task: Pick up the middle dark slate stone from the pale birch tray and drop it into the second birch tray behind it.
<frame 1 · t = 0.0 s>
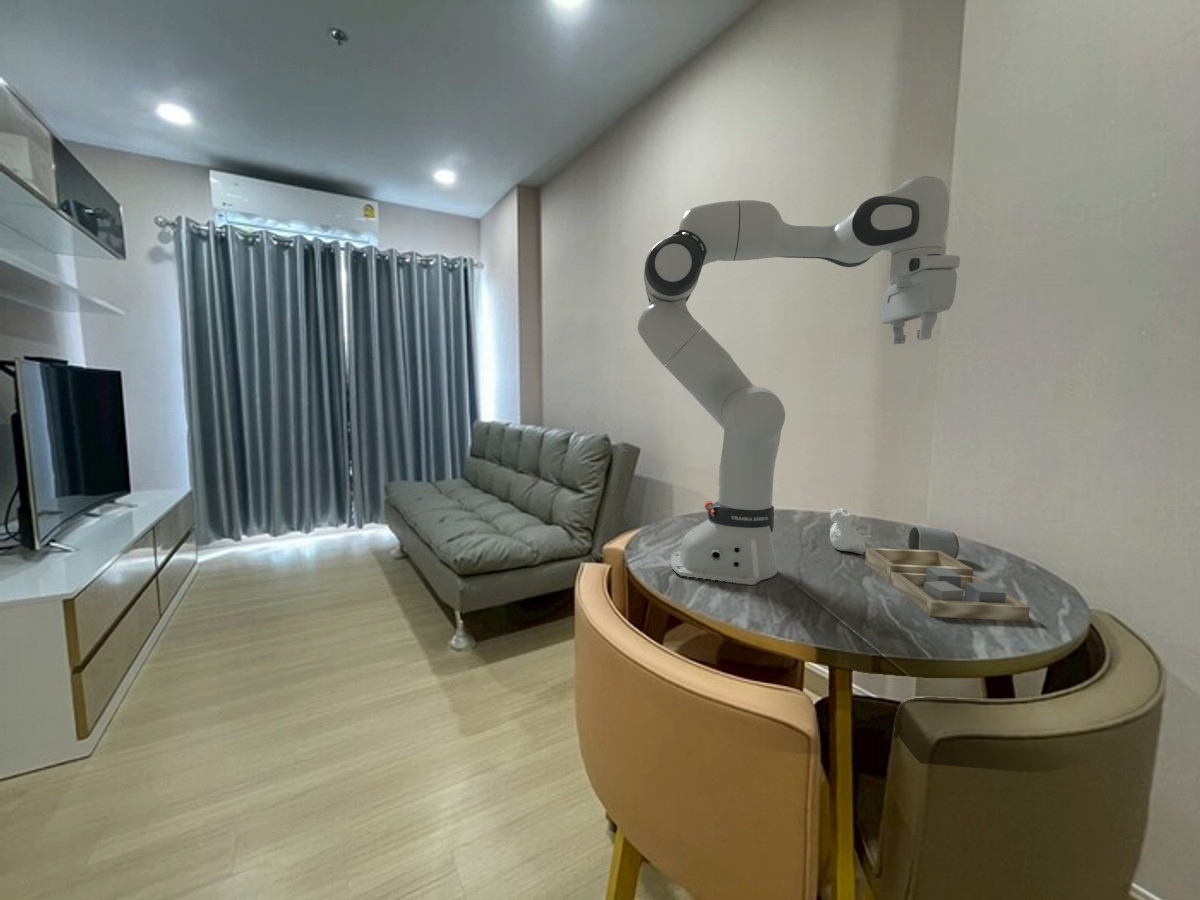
hand: (910, 341, 96), 48 cm above the table, tool pointing down, fingers open, 8 cm apart
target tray: (914, 576, 101), on the table
stone right: (983, 609, 85), point 1 cm above the table, touching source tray
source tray: (952, 603, 88), on the table
stone mid: (941, 592, 92), point 1 cm above the table, touching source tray
ceramic mug: (927, 559, 113), on the table
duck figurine: (844, 550, 118), on the table
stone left: (941, 607, 85), point 1 cm above the table, touching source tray
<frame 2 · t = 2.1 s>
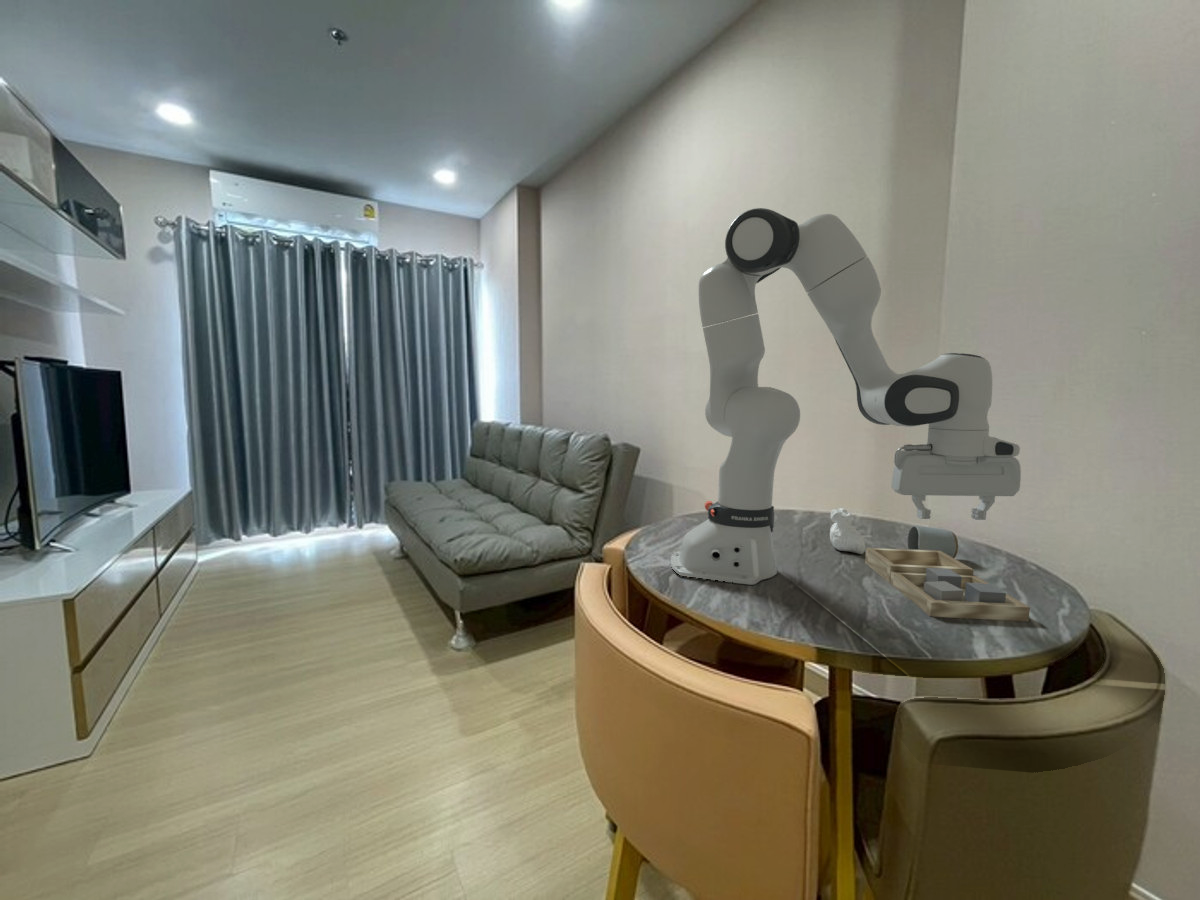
hand: (950, 518, 90), 15 cm above the table, tool pointing down, fingers open, 8 cm apart
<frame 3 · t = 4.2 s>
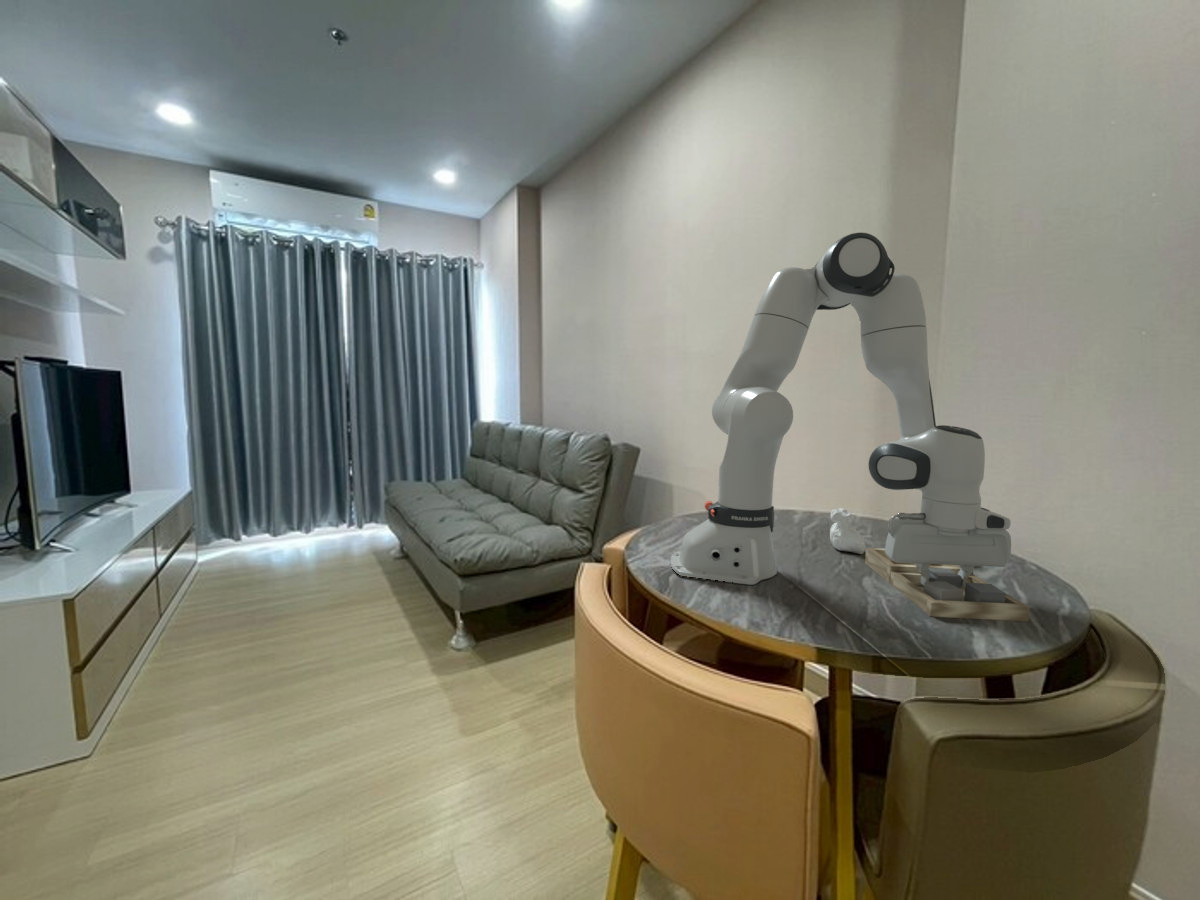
hand: (942, 585, 92), 2 cm above the table, tool pointing down, fingers closed on stone mid, 4 cm apart
stone mid: (941, 592, 92), point 1 cm above the table, touching gripper, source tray
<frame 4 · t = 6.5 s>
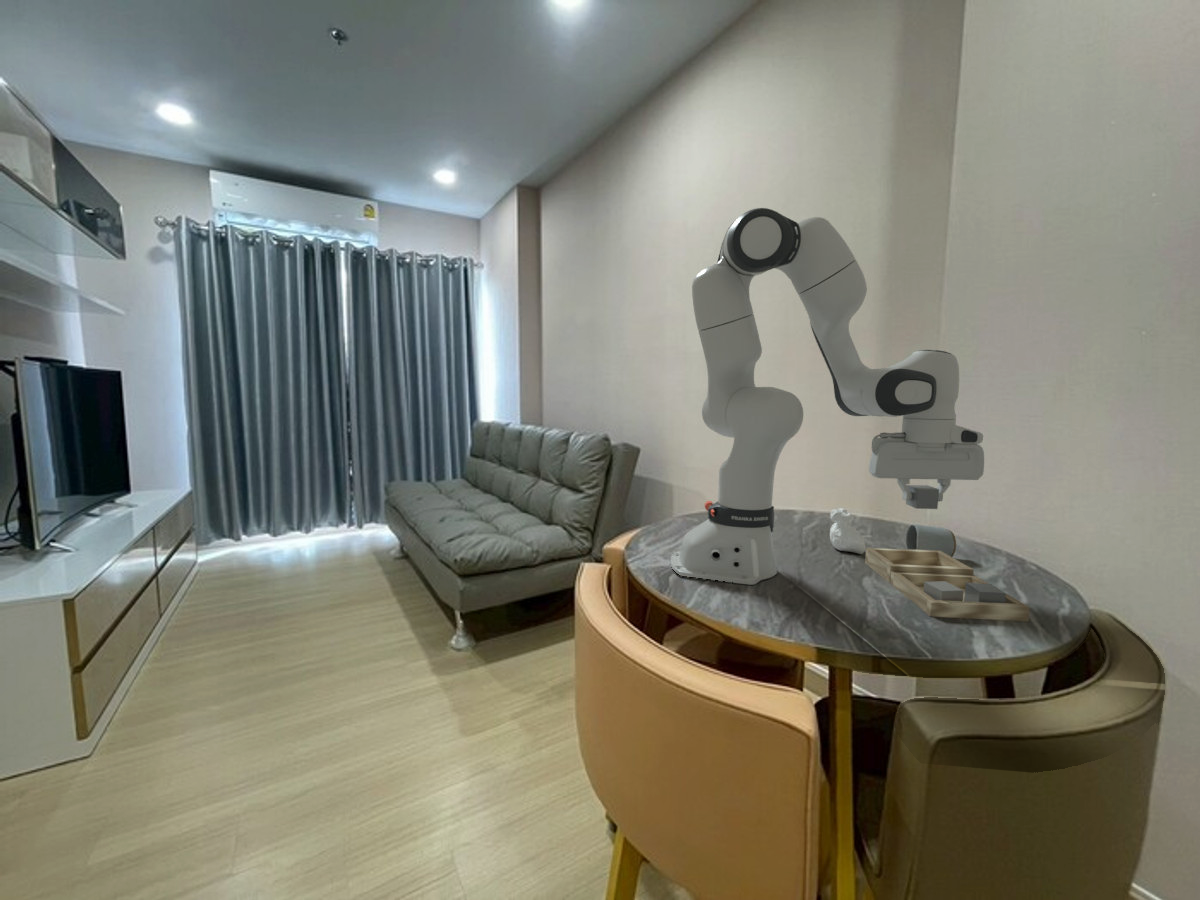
hand: (921, 500, 99), 16 cm above the table, tool pointing down, fingers closed on stone mid, 4 cm apart
stone mid: (921, 506, 99), point 15 cm above the table, touching gripper
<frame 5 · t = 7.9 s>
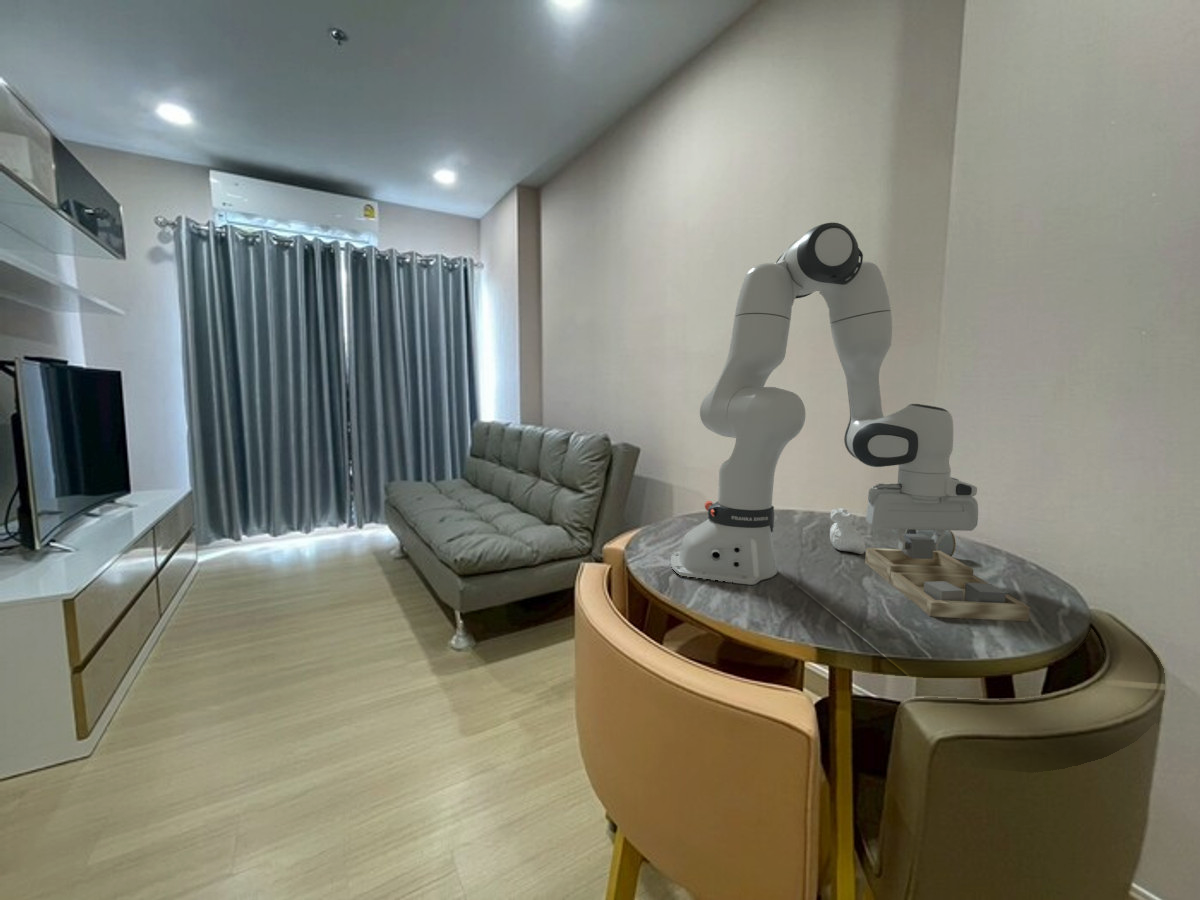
hand: (917, 549, 101), 6 cm above the table, tool pointing down, fingers closed on stone mid, 4 cm apart
stone mid: (916, 555, 101), point 4 cm above the table, touching gripper
when the fingers open (4 cm above the table, at t = 8.9 s): stone mid drops 2 cm, resting on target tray.
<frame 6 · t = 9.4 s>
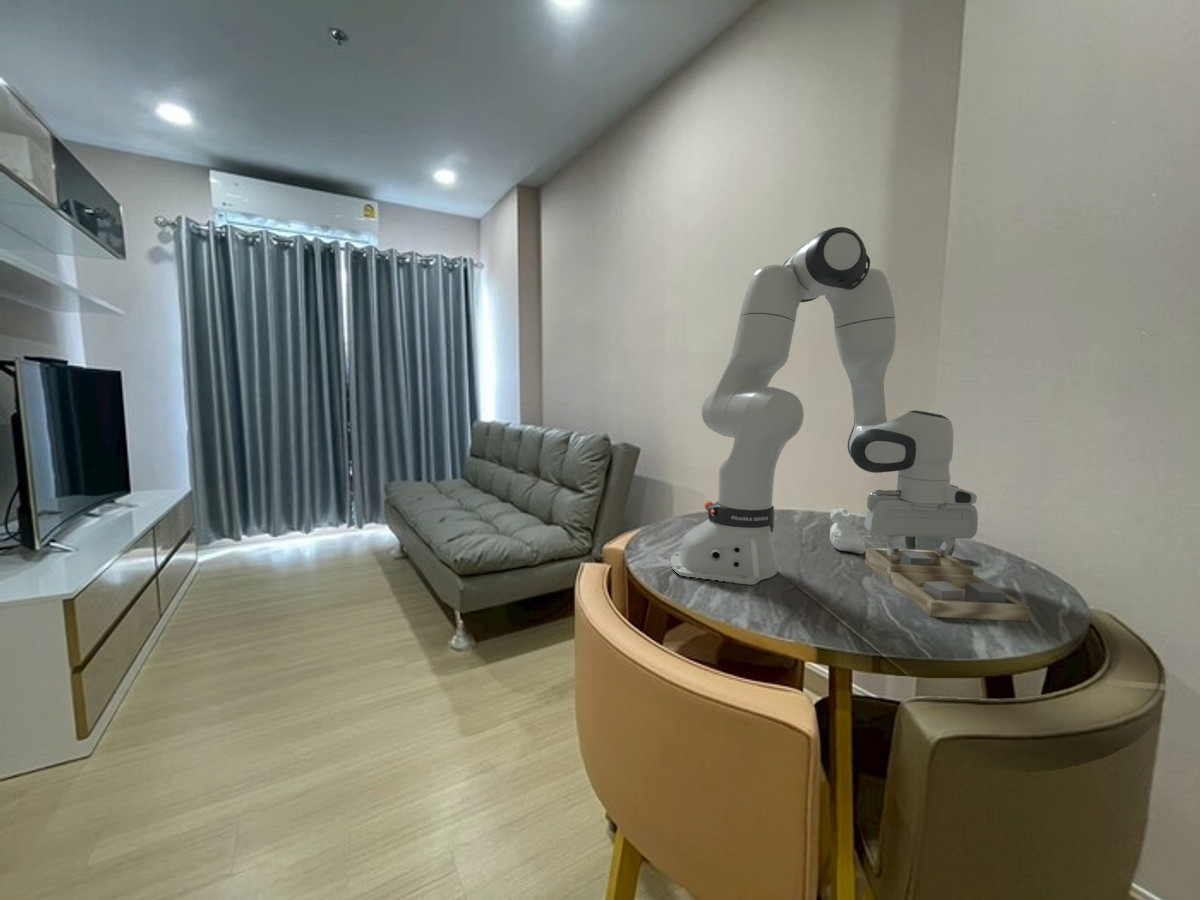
hand: (916, 556, 101), 4 cm above the table, tool pointing down, fingers open, 8 cm apart
stone mid: (914, 573, 101), point 1 cm above the table, touching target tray
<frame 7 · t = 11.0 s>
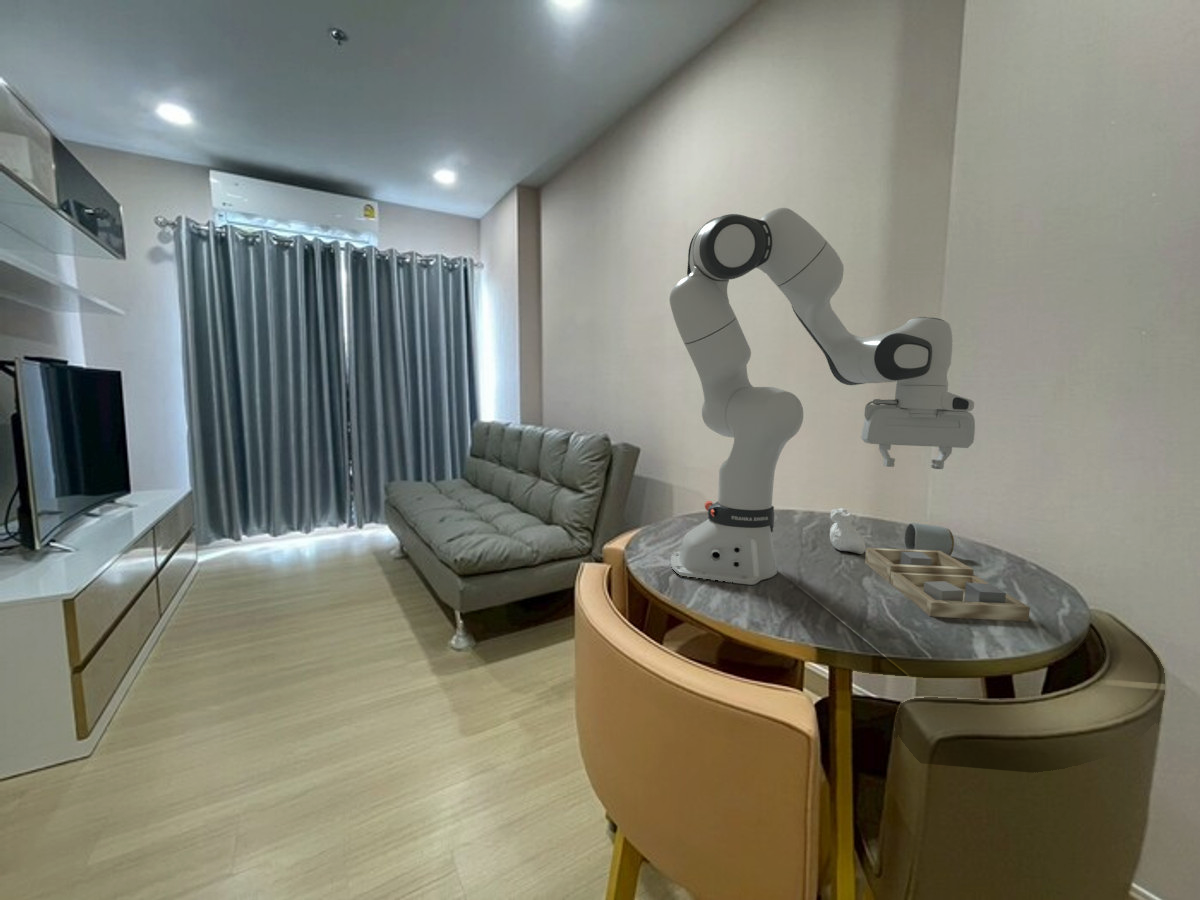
hand: (912, 467, 101), 23 cm above the table, tool pointing down, fingers open, 8 cm apart
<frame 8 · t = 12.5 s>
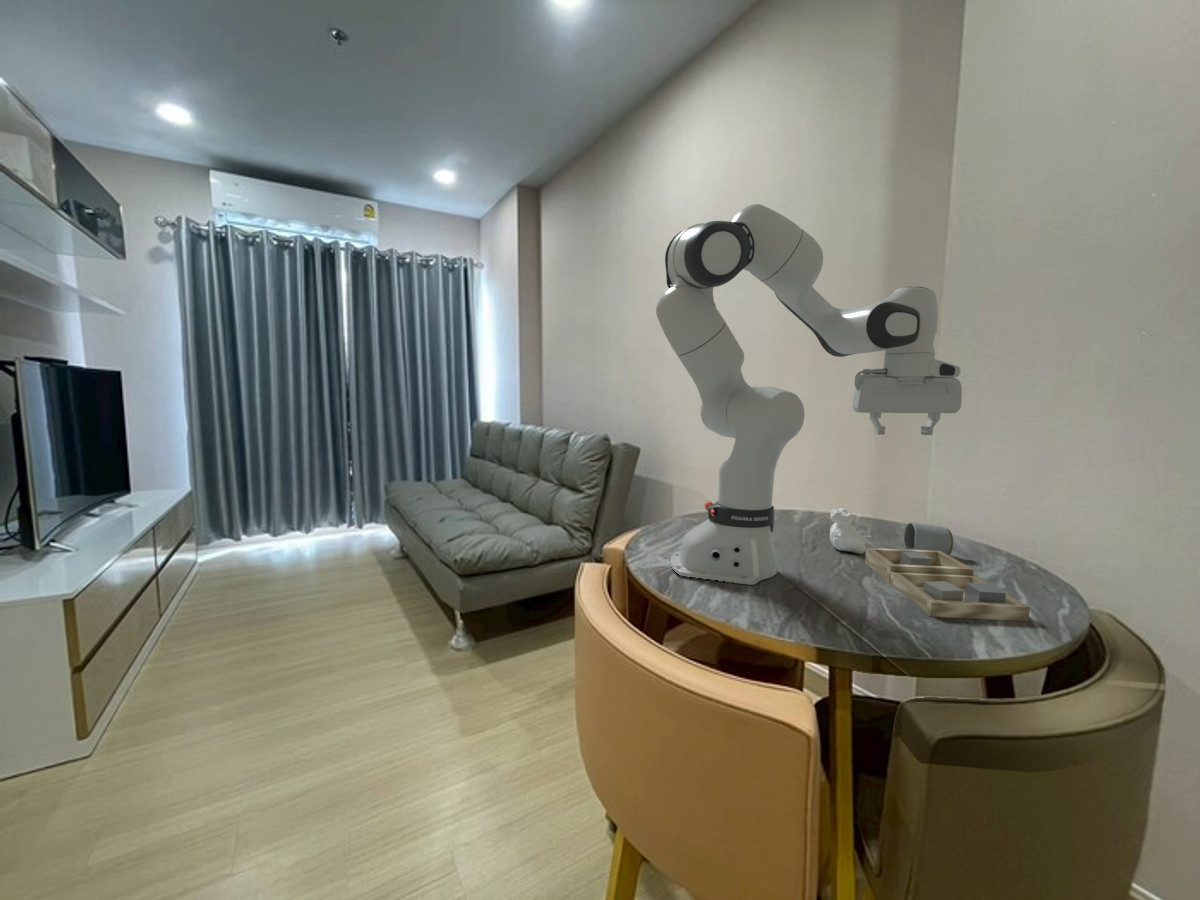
hand: (902, 434, 103), 29 cm above the table, tool pointing down, fingers open, 8 cm apart
at the end: stone mid inside the target area on the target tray (0.1 cm from its centre), point 0.6 cm above the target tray's base; the gripper is holding nothing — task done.
